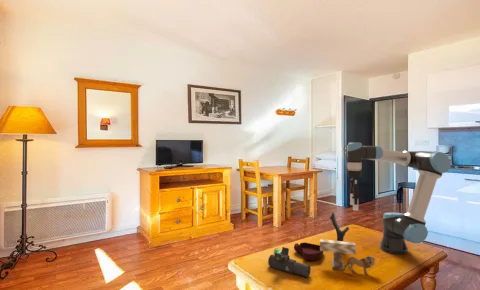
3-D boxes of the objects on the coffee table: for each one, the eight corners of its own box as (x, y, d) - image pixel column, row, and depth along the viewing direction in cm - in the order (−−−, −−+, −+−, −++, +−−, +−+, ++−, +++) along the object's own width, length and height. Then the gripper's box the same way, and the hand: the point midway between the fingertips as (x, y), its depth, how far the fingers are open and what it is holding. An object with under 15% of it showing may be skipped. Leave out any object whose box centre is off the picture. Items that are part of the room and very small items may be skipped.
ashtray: (331, 260, 154) (331, 251, 154) (306, 263, 149) (306, 254, 149) (315, 248, 171) (315, 240, 171) (291, 251, 167) (291, 243, 167)
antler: (342, 247, 172) (342, 208, 171) (351, 252, 164) (351, 211, 164) (327, 250, 168) (327, 210, 168) (335, 255, 160) (335, 213, 160)
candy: (288, 260, 152) (285, 254, 152) (284, 263, 151) (280, 258, 151) (280, 251, 164) (277, 246, 163) (276, 255, 163) (272, 250, 163)
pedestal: (342, 263, 150) (343, 248, 150) (344, 270, 141) (344, 255, 141) (331, 261, 152) (331, 247, 152) (332, 268, 143) (332, 253, 143)
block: (354, 251, 146) (354, 242, 146) (355, 254, 142) (355, 245, 142) (320, 247, 151) (320, 239, 151) (320, 250, 147) (320, 241, 147)
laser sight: (304, 281, 130) (304, 261, 130) (264, 268, 143) (264, 250, 143) (312, 273, 138) (312, 254, 138) (273, 262, 151) (273, 244, 151)
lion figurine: (374, 272, 140) (374, 254, 140) (374, 276, 135) (374, 258, 135) (344, 266, 146) (344, 249, 146) (343, 270, 141) (343, 253, 141)
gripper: (345, 167, 164) (345, 202, 164) (349, 171, 140) (349, 212, 140) (358, 168, 162) (358, 203, 162) (365, 172, 138) (364, 213, 138)
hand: (354, 207), depth 151 cm, fingers open, 13 cm apart
